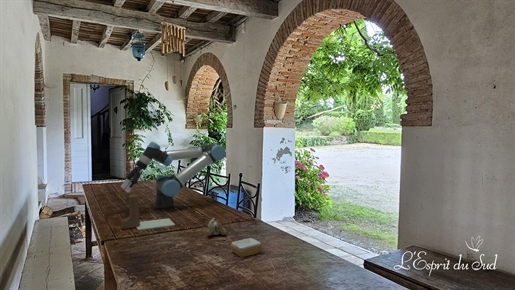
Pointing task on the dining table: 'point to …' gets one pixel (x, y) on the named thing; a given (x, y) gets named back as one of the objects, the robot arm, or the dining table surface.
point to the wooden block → (132, 213)
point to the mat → (155, 224)
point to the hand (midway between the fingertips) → (124, 189)
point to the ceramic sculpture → (215, 228)
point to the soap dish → (246, 247)
